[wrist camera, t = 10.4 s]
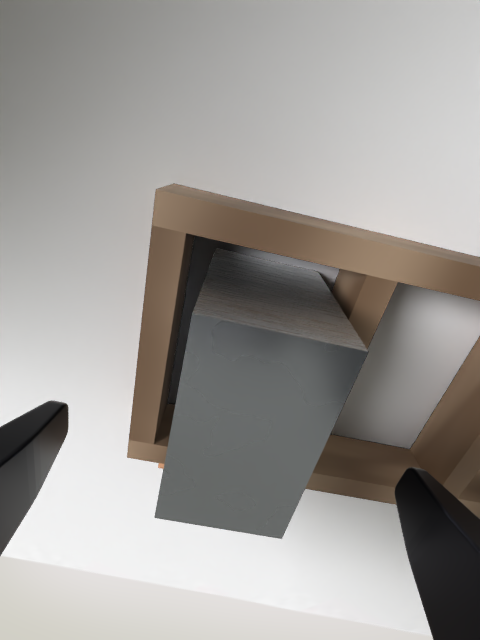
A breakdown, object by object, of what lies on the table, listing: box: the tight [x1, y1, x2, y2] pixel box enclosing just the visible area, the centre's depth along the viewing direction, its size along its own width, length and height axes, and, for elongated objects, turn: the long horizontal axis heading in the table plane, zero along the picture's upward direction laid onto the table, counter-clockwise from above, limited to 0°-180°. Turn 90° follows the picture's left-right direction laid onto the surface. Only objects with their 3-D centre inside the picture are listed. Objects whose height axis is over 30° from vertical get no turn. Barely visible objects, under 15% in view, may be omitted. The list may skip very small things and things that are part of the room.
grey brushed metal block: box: [155, 248, 368, 539], centre depth 11 cm, size 4×7×6 cm, turn 167°
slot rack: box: [127, 184, 480, 519], centre depth 14 cm, size 21×11×2 cm, turn 77°
